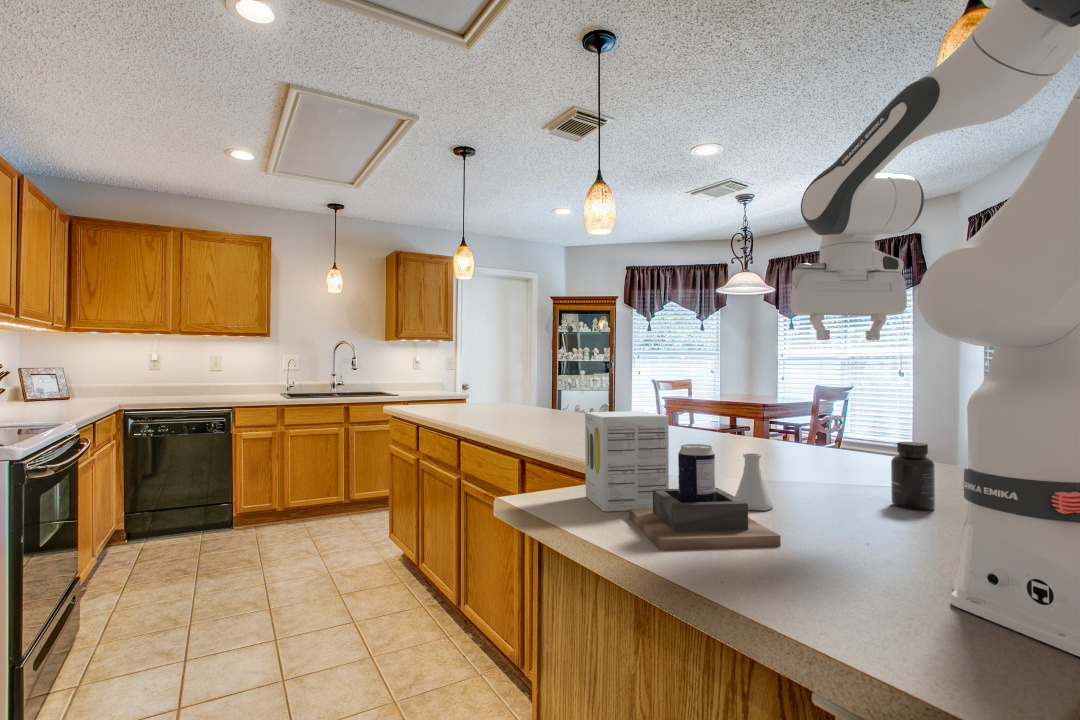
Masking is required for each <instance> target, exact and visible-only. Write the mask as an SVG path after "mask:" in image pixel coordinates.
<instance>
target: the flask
mask: <svg viewBox="0 0 1080 720" xmlns="http://www.w3.org/2000/svg"><path fill="white" fill-rule="evenodd" d="M742 456H743V458H744V467H743V472H742V476H741V478H740V482H739V485H738V488H737V491H736V493H735V495H734V497H736V498H738V499H740V500H742V501H744V502H746V503H748V511H766V512H767V511H768V510H772V509H773V508H774V507H773V504H772V501H771V499H770V498H771V497H770V496H769V493H768V490H767V488H766V485H765V483H764V479H763V476H762V471H761V467H760V465H761V464H760V460H761V457H762V454H761V453H755V452H744V453H742Z"/></svg>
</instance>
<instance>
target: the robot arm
mask: <svg viewBox="0 0 1080 720" xmlns="http://www.w3.org/2000/svg"><path fill="white" fill-rule="evenodd" d="M1079 50H1080V0H996V2H995V3H994V5H993V6H992V7H991V8H990V9H989V10H988V11H987V13H986V14H985V15H984V16H983V17H982V19H981V20H980V21H979V23H977V24H976V26H975V27H974V29H973V30H972V31H971V33H970V34H969V35H968V36H967V38H965V40H964V41H963V42H962V43H961V44H959V46H958V47H957V48H956V49H955V50H953V52H952V53H950V55H949V56H948V57H946V58H945V59H944V60H943V61H942V62H941V63H939V65H937V66H936V67H935V68H933V69H932V70H931V71H930V72H929V73H927V74H925V75H924V76H922V77H921V78H919V79H917V80H915V81H914V82H912V83H911V84H908V86H907V85H906V87H905V88H903V89H902V91H900V92H899V93H898V94H896V96H895V97H894V98H892V100H891V101H890V102H889V103H888V104H887V105H886V106H885V107H884V108H883V109H882V111H881V112H879V113H878V115H877V116H876V117H875V118H874V119H873V120H872V121H871V122H870V124H868V126H867V127H866V128H864V129H863V131H862V132H861V133H860V134H859V135H858V137H857V138H855V140H854V141H853V142H852V143H851V144H850V145H849V146H848V147H847V148H846V150H845V151H844V152H843V153H842V154H841V155H840V156H839V157H838V158H837V159H836V161H834V162H833V163H832V164H831V165H830V166H828V167H827V168H826V169H824V170H823V171H822V172H821V173H820V174H818V175H817V176H816V177H815V178H814V179H813V180H812V181H811V182H810V183H809V185H807V187H806V189H805V191H804V193H803V195H802V198H801V202H800V213H801V215H802V218H803V220H804V222H805V224H806V225H807V226H808V228H809V229H811V231H813V232H814V233H815V234H816V235H818V236H821V242H820V245H819V263H816V262H814V263H808V262H804V263H799V264H798V265H797V266H795V267H794V268H793V270H792V271H791V283H792V287H791V293H790V302H789V303H790V304H789V308H790V310H791V313H792V314H793V315H795V316H809V322H810V323H811V325H812V327H813V329H814V330H815V331H816V340H817V341H829V340H830V338H831V335H830V334H831V330H830V329H826V327H825V325H824V323H823V322H822V321H824V320H825V316H870V322H873V323H872V325H871V327H870V330H865V335H866V336H865V340H866V341H879V340H880V338H881V330H882V328H883V327H884V325H885V323H886V322H887V316H888V317H890V316H897V315H902V314H903V313H904V312H905V310H906V309H907V307H908V306H907V305H908V301H907V300H908V298H907V293H908V292H907V284H906V280H905V277H904V276H903V275H902V274H901V273H899V272H902V271H903V270H904V261H903V259H901V258H898V257H895V256H894V255H890V254H888V253H885V252H883V251H880V250H878V249H876V241H875V239H876V237H877V236H879V235H895V234H898V233H904V232H906V231H908V230H909V229H911V228H912V226H914V225H915V224H916V223H917V221H918V220H919V219H920V217H921V214H922V212H923V209H924V205H925V195H924V189H923V186H922V185H921V183H920V181H918V179H917V178H915V177H914V176H909V175H906V174H905V175H904V174H896V173H895V174H894V173H880V172H881V171H882V170H883V169H884V168H886V167H887V166H888V165H889V163H890V162H892V160H893V159H895V158H896V157H897V156H898V155H899V154H900V152H902V151H903V150H904V149H906V148H907V147H910V145H912V144H914V143H916V142H918V141H920V140H924V139H925V138H928V137H930V136H934V135H937V134H941V133H944V132H949V131H952V130H957V129H961V128H965V127H966V128H967V127H971V126H977V125H981V124H987V123H991V122H994V121H997V120H1000V119H1003V118H1005V117H1007V116H1009V115H1011V114H1012V113H1014V112H1015V111H1017V110H1018V109H1020V108H1021V107H1023V106H1024V105H1025V104H1026V103H1028V102H1029V101H1030V100H1032V99H1033V98H1034V97H1035V96H1036V95H1037V94H1039V93H1040V92H1041V91H1042V90H1043V89H1044V88H1045V87H1046V86H1047V85H1048V84H1049V82H1050V81H1051V80H1052V79H1053V78H1054V77H1055V76H1056V75H1057V74H1059V72H1060V71H1061V70H1062V69H1063V68H1064V67H1065V65H1067V64H1068V62H1069V61H1070V60H1071V59H1072V58H1073V57H1074V56H1075V55H1076V54H1077V52H1078V51H1079ZM917 305H918V309H919V312H920V315H921V317H922V318H923V320H924V321H925V323H926V324H927V325H928V326H929V327H930V328H931V329H932V330H934V331H935V332H937V333H939V334H940V335H943V336H946V337H948V338H951V339H953V340H957V341H959V342H962V343H966V344H970V345H974V346H978V347H992V348H993V347H994V348H993V353H992V358H991V361H990V364H989V368H988V371H987V373H986V375H985V377H984V380H982V383H981V384H980V385H979V387H978V388H977V389H976V390H975V391H974V392H973V393H972V394H971V395H970V397H969V399H968V401H967V402H968V403H967V405H966V410H967V412H966V414H967V415H966V416H967V420H966V421H967V462H968V465H967V467H965V468H964V469H963V478H962V486H963V498H964V499H965V500H966V501H967V511H966V518H965V522H964V525H963V529H962V534H961V535H962V536H961V543H960V552H959V559H958V568H957V573H956V576H955V579H954V582H953V585H952V589H953V591H952V592H951V594H950V604H951V605H952V606H954V607H956V608H959V609H961V610H963V611H966V612H969V613H971V614H974V615H975V616H978V617H981V618H983V619H986V620H988V621H990V622H993V623H995V624H997V625H1001V626H1003V627H1006V628H1008V629H1010V630H1013V631H1015V632H1017V633H1021V634H1023V635H1025V636H1027V637H1030V638H1032V639H1035V640H1037V641H1039V642H1043V643H1045V644H1047V645H1050V646H1053V647H1055V648H1057V649H1060V650H1062V651H1064V652H1068V653H1069V654H1072V655H1075V656H1078V657H1080V85H1078V87H1077V90H1076V92H1075V94H1074V95H1073V96H1072V99H1071V100H1070V102H1069V103H1068V106H1067V108H1066V109H1065V111H1064V112H1063V115H1062V116H1061V118H1060V120H1059V121H1058V123H1057V124H1056V126H1055V128H1054V130H1053V131H1052V134H1051V135H1050V137H1049V139H1048V141H1047V143H1046V144H1045V145H1044V147H1043V149H1042V150H1041V152H1040V154H1039V156H1038V158H1037V159H1036V161H1035V163H1034V164H1033V166H1032V168H1031V169H1030V171H1029V172H1028V173H1027V175H1026V177H1025V178H1024V180H1022V182H1021V184H1019V186H1018V187H1017V189H1016V190H1015V191H1014V192H1013V194H1012V195H1011V196H1010V197H1009V198H1008V199H1007V200H1006V202H1005V203H1004V204H1003V205H1001V207H1000V208H999V209H998V210H997V211H996V212H995V214H993V216H991V218H990V219H988V221H987V222H985V224H984V225H983V226H982V227H981V228H980V229H979V230H978V231H977V232H975V234H973V236H972V237H970V238H968V240H966V241H965V242H964V243H962V244H961V245H959V246H958V247H956V248H954V249H953V250H950V251H949V252H947V253H945V254H943V255H942V256H940V257H939V258H938V259H936V260H935V261H934V262H933V263H932V264H930V266H929V267H928V268H927V270H926V271H925V272H924V274H923V275H922V278H921V280H920V282H919V285H918V289H917Z"/></svg>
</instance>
